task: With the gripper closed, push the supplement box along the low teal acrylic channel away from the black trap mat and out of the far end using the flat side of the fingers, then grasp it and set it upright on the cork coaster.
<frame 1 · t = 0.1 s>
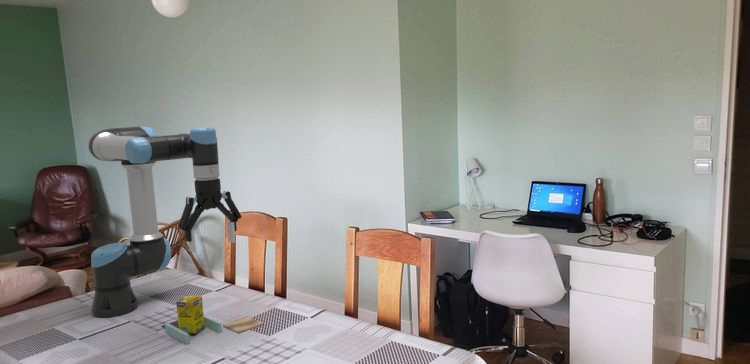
hand: (213, 246, 171), 28 cm above the table, fingers open, 13 cm apart
channel: (193, 332, 176), on the table
trap mat: (180, 325, 182), on the table
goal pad: (243, 325, 179), on the table
supplement box: (192, 332, 176), on the table
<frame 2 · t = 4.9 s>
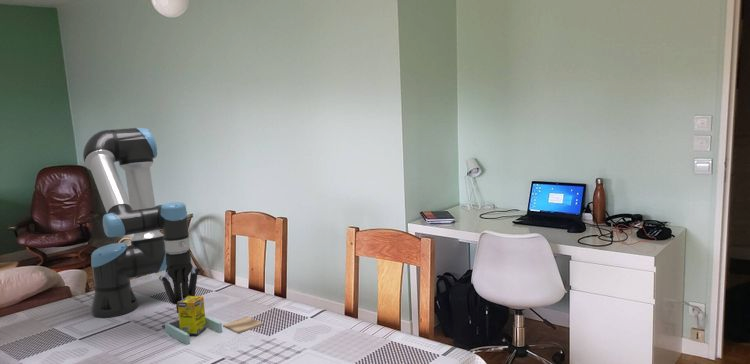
hand: (184, 321, 179), 2 cm above the table, fingers closed
supplement box: (193, 332, 176), on the table, touching gripper
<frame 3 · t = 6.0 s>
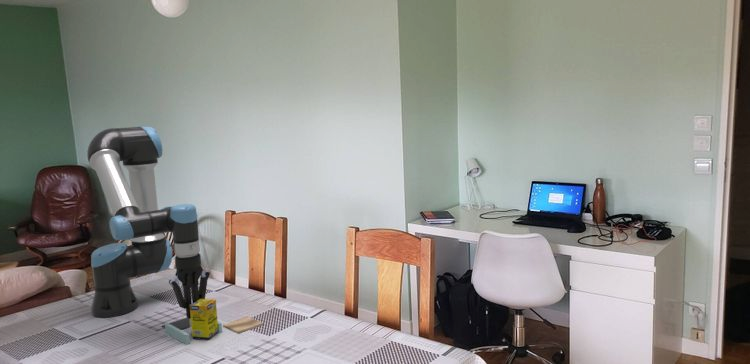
hand: (194, 326, 175), 2 cm above the table, fingers closed
supplement box: (205, 336, 173), on the table
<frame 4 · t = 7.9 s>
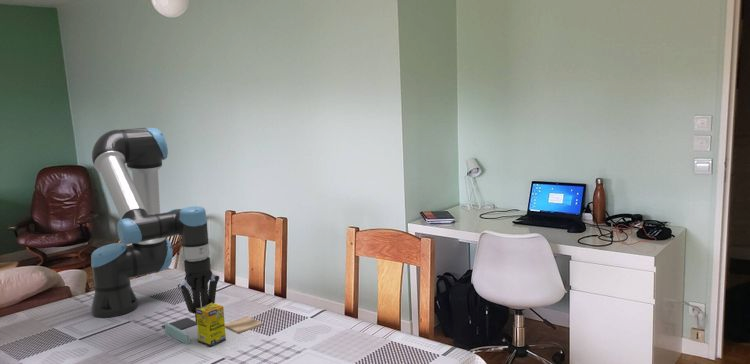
hand: (203, 331, 171), 2 cm above the table, fingers closed
supplement box: (212, 342, 168), on the table, touching gripper
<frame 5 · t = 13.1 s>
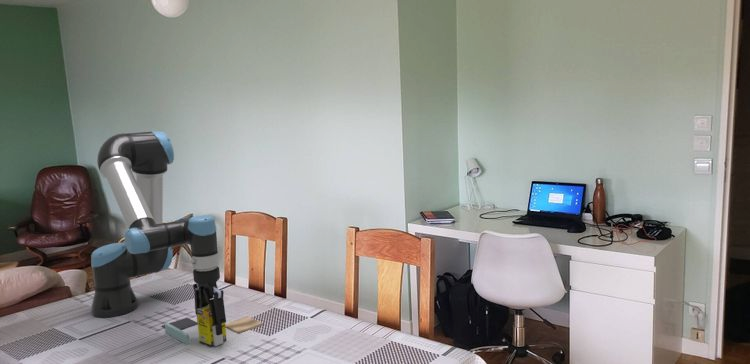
hand: (212, 341, 168), 0 cm above the table, fingers closed on supplement box, 6 cm apart
supplement box: (213, 342, 168), on the table, touching gripper
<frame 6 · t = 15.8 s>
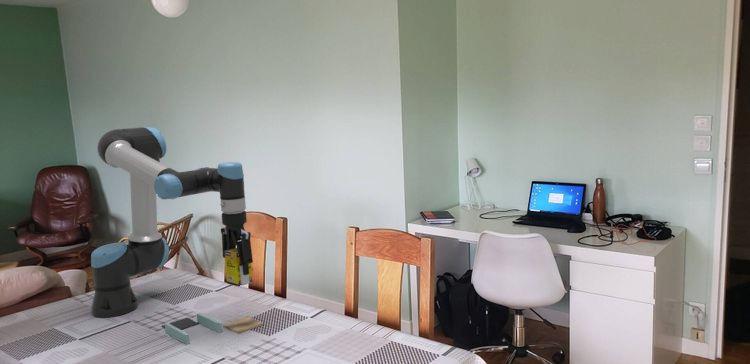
hand: (239, 282, 177), 15 cm above the table, fingers closed on supplement box, 6 cm apart
supplement box: (240, 283, 178), point 14 cm above the table, touching gripper
when the fingers open (1 cm above the table, at t = 18.5 s): supplement box stays where it is, resting on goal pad.
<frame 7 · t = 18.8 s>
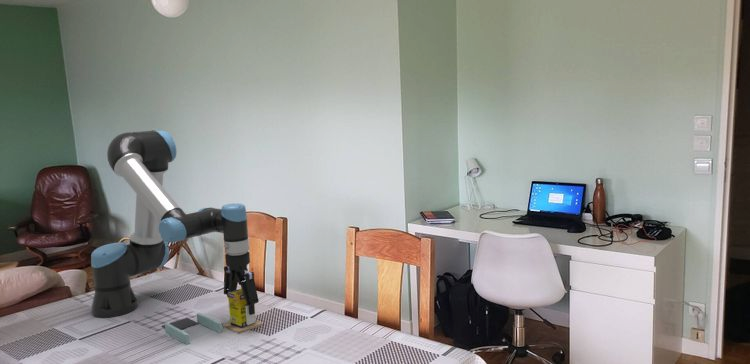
hand: (242, 319, 179), 2 cm above the table, fingers open, 9 cm apart
supplement box: (243, 324, 180), resting on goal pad
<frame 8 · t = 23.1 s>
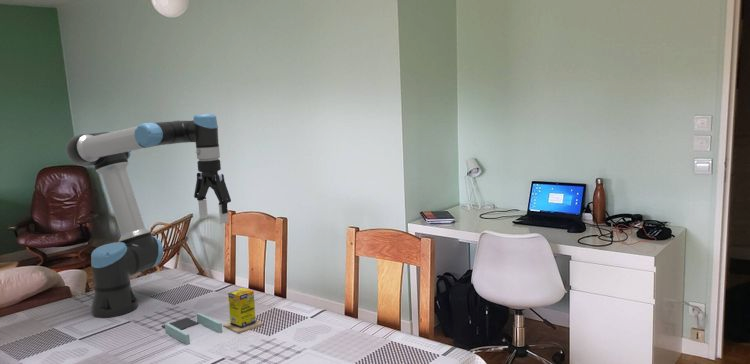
hand: (213, 220, 192), 32 cm above the table, fingers open, 13 cm apart
nothing on the table moved.
at the end: supplement box inside the target area on the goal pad (0.2 cm from its centre), point 0.4 cm above the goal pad's base; supplement box tilted 0°; the gripper is holding nothing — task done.
